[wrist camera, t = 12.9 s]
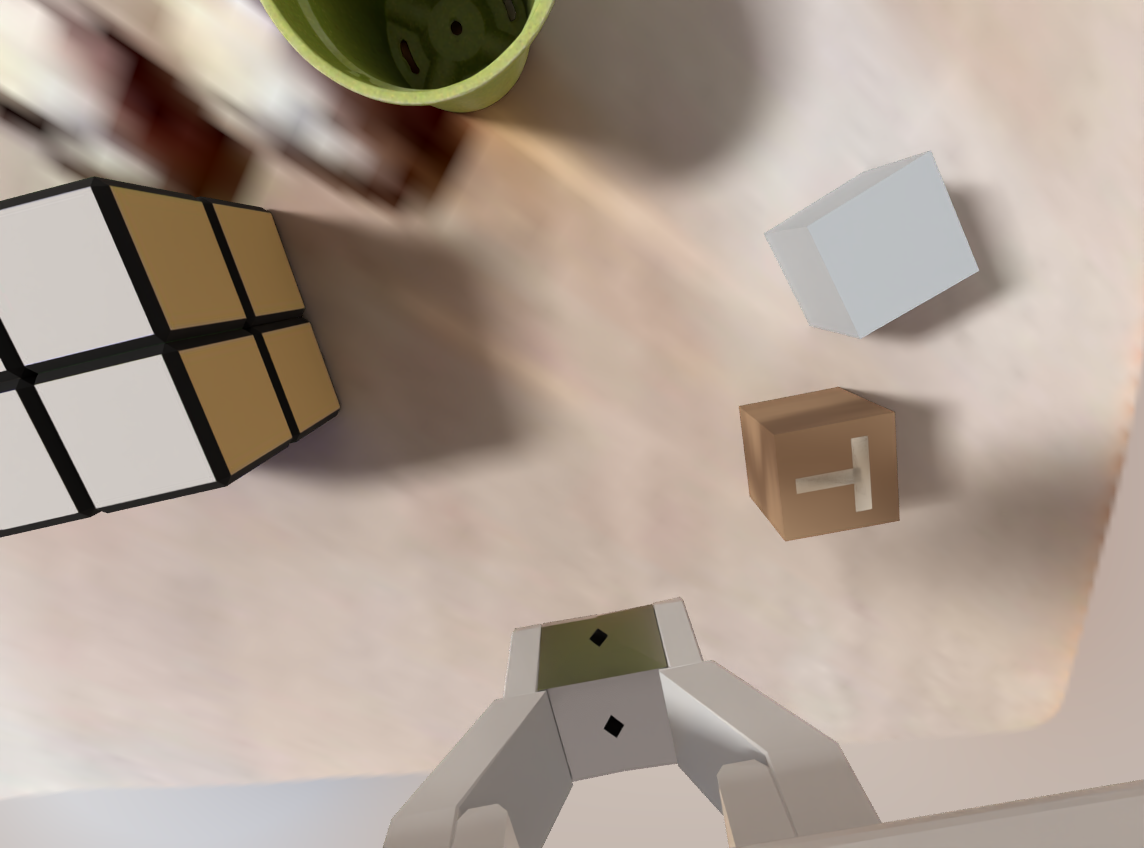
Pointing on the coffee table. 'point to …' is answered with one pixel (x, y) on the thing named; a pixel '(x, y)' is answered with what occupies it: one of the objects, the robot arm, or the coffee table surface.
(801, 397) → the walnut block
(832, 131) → the coffee table surface
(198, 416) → the puzzle cube
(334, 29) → the plant pot
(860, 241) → the grey-blue block
